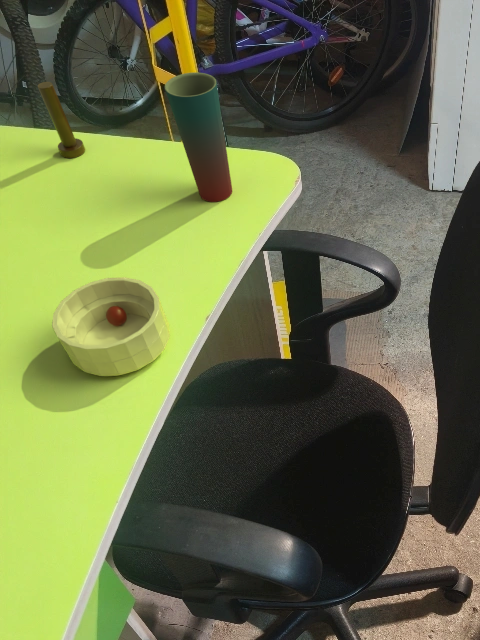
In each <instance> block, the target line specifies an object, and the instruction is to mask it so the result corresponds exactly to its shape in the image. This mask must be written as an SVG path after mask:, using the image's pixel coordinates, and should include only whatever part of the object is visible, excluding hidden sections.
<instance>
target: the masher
mask: <svg viewBox="0 0 480 640" xmlns="http://www.w3.org/2000/svg"><path fill="white" fill-rule="evenodd" d="M37 89H38V91H39V94H40V95H41V98H42V100H43V103H44V105H45V107H46V110H47V112H48V114H49V116H50V119H51V121H52V123H53V126H54V128H55V130H56V133H57V134H58V137H59V140H60V142H59V143H58V144H57V149H58V151H59V153H60V155H61V156H62V157H63V158H65V159H74V158H78V157H80V156H82V155H84V154H85V152H86V147H85V144H84V142H83V140H81V138H76V137H75V135H74V133H73V130H72V127H71V125H70V123H69V120H68V118H67V115H66V113H65V111H64V108H63V106H62V103H61V102H60V98H59V96H58V93H57V92H56V89H55V87H54V84H53V82H51V81H43V82H40V83H38V85H37Z"/></svg>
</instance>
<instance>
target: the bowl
mask: <svg viewBox="0 0 480 640" xmlns="http://www.w3.org/2000/svg"><path fill="white" fill-rule="evenodd" d="M112 306H119V307H121V308H122V309H124V311H125V312H126V314H127V320H126V322H125V323H124V324H123V325H121V326H114V325H112V324H110V323H109V322H108V320H107V318H106V312H107V310H108V309H109V308H110V307H112ZM51 323H52V325H51V326H52V330H53V331H54V333H55V335H56V337H57V339H58V341H59V342H60V344H61V346H62V347H63V349H64V350H65V352H66V354H67V355H68V357H69V359H70V361H71V362H72V364H73V365H74V366H76V367H77V368H78V369H79V370H81V371H82V372H84V373H87V374H91V375H95V376H99V377H114V376H115V377H116V376H122V375H126V374H129V373H132V372H136V371H139V370H140V369H142V368H144V367H145V366H148V365H149V364H151V363H152V362H155V360H156V359H157V358H158V357H159V356H160V355H161V354H162V353H163V352H164V351H165V349H166V347H167V345H168V343H169V341H170V339H171V338H170V337H171V330H170V323H169V320H168V318H167V315H166V312H165V310H164V307H163V305H162V302H161V300H160V297H159V296H158V294H157V293H156V291H155V289H154V288H153V287H152V286H151V285H149V284H148V283H146V282H144V281H142V280H140V279H136V278H131V277H127V276H126V277H125V276H123V277H122V276H121V277H105V278H102V279H97V280H93V281H90V282H87V283H85V284H84V285H81V286H79V287H78V288H76V289H74V290H72V291H71V292H70V293H69V294H67V295H66V296H65V297H64V298H63V299H62V300H61V301H60V302H59V303H58V305H57V306H56V309H55V310H54V311H53V314H52V322H51Z"/></svg>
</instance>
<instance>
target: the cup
mask: <svg viewBox="0 0 480 640" xmlns="http://www.w3.org/2000/svg"><path fill="white" fill-rule="evenodd" d="M164 91H165V94H166V96H167V99H168V102H169V106H170V108H171V112H172V114H173V118H174V121H175V124H176V127H177V130H178V134H179V136H180V139H181V142H182V145H183V148H184V151H185V154H186V157H187V161H188V163H189V166H190V170H191V172H192V175H193V178H194V181H195V185H196V188H197V191H198V194H199V197H200V198H201V199H202V200H203V201H206V202H209V203H210V202H211V203H217V202H222V201H224V200H227V199H228V198H230V197H231V196H232V194H233V185H232V177H231V172H230V165H229V157H228V151H227V145H226V138H225V137H226V136H225V131H224V123H223V116H222V110H221V104H220V96H219V89H218V83H217V79H216V78H215V77H214V76H213V75H211V74H208V73H205V72H195V71H194V72H186V73H182V74H181V73H180V74H177V75H176V76H174V77H172V78H170V79H168V80H167V81H166V82H165V84H164Z"/></svg>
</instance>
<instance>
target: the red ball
mask: <svg viewBox="0 0 480 640" xmlns="http://www.w3.org/2000/svg"><path fill="white" fill-rule="evenodd" d="M106 318H107V320H108V322H109V323H110V324H112V325H114V326H121V325H123V324H124V323H125V322H126V320H127V314H126V312H125V311H124V309H122V308H121V307H119V306H112V307H110V308H109V309H108V310H107V312H106Z"/></svg>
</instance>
